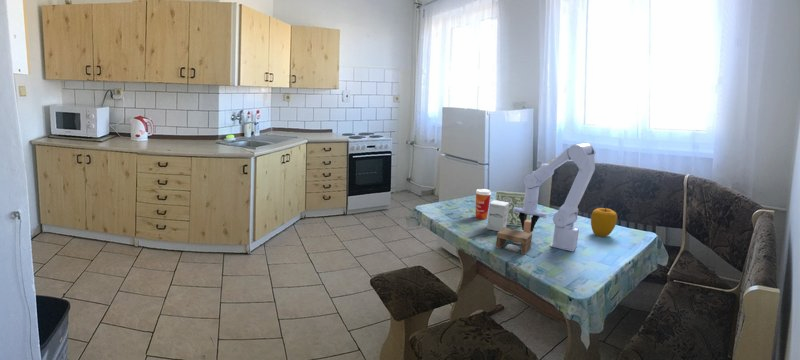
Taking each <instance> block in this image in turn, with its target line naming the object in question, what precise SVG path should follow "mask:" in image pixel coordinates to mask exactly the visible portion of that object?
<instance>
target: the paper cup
mask: <svg viewBox="0 0 800 360" xmlns="http://www.w3.org/2000/svg"><path fill="white" fill-rule="evenodd" d="M491 195H492V192H491V190H490V189H487V188H486V189H485V188H477V189H476V191H475V219H478V220H483V221H484V220H488V215H489V206H490V203H491V202H490V201H491Z"/></svg>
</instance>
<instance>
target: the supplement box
mask: <svg viewBox="0 0 800 360" xmlns="http://www.w3.org/2000/svg"><path fill="white" fill-rule="evenodd" d="M509 206H510V202H507V201H502V200H497V199H494V200H492V201H491V202H489V208H488V215H487V226H486V230H492V231H496V232H499V231H500V230H502V229H503V228H507V223H508V216H509V215H508V214H509Z"/></svg>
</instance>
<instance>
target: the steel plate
mask: <svg viewBox="0 0 800 360" xmlns="http://www.w3.org/2000/svg"><path fill="white" fill-rule="evenodd" d="M504 249H505V250H509V251H513V252H518V251H520V249H522V245H520V246H517V245H513V244H512V243H508V244H507V245H505V247H504Z"/></svg>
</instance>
